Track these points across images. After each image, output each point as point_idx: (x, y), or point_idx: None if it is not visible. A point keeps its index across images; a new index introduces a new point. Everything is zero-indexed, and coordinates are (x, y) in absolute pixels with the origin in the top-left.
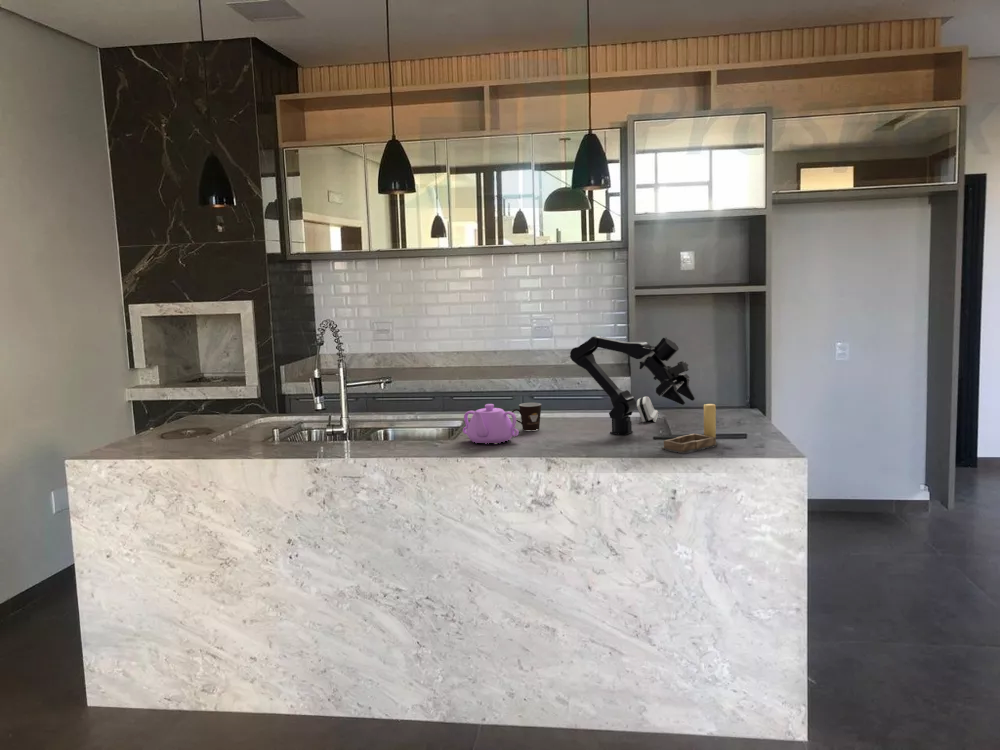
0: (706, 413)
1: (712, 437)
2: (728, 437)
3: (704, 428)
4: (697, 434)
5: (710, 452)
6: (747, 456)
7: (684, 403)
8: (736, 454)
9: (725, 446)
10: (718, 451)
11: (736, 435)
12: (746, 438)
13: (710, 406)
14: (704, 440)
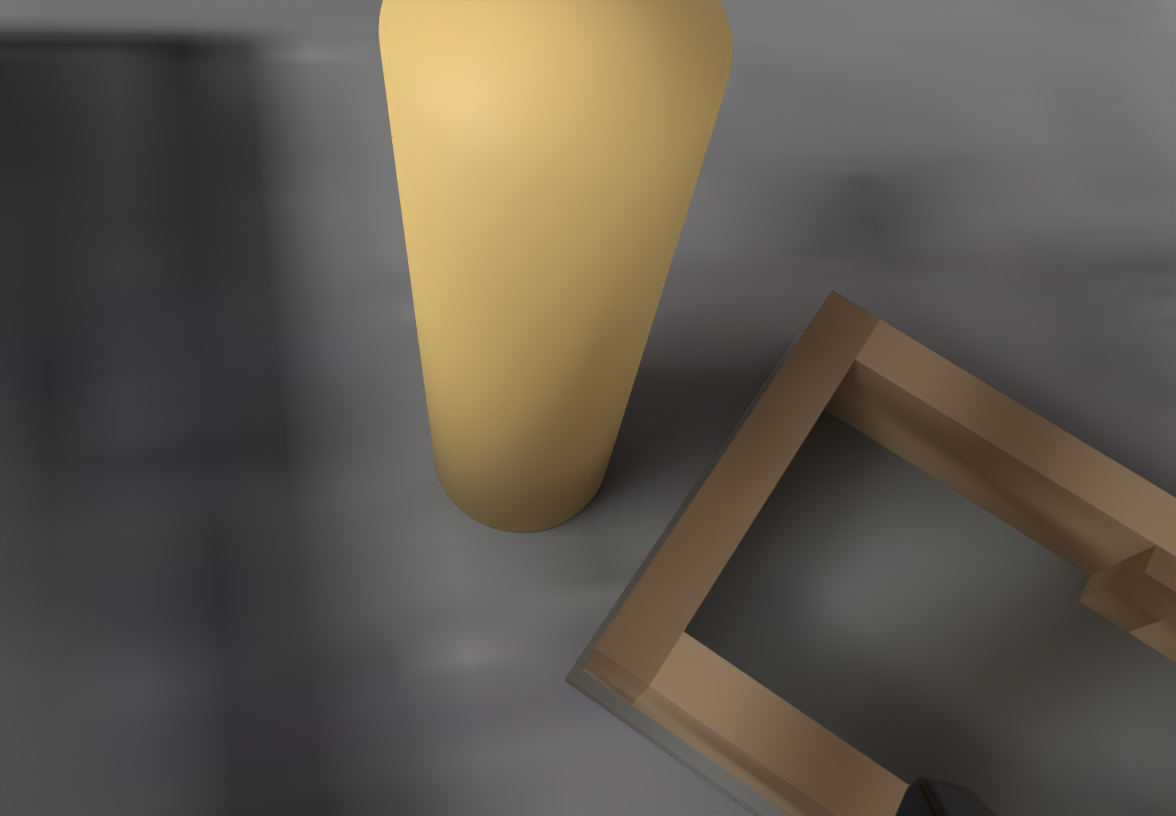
0: (679, 236)
1: (852, 332)
2: (199, 226)
3: (588, 438)
4: (684, 581)
5: (1167, 390)
6: (1171, 32)
7: (954, 799)
8: (1134, 124)
9: (775, 241)
10: (1074, 304)
11: (53, 137)
12: (249, 33)
13: (717, 22)
14: (1061, 433)
